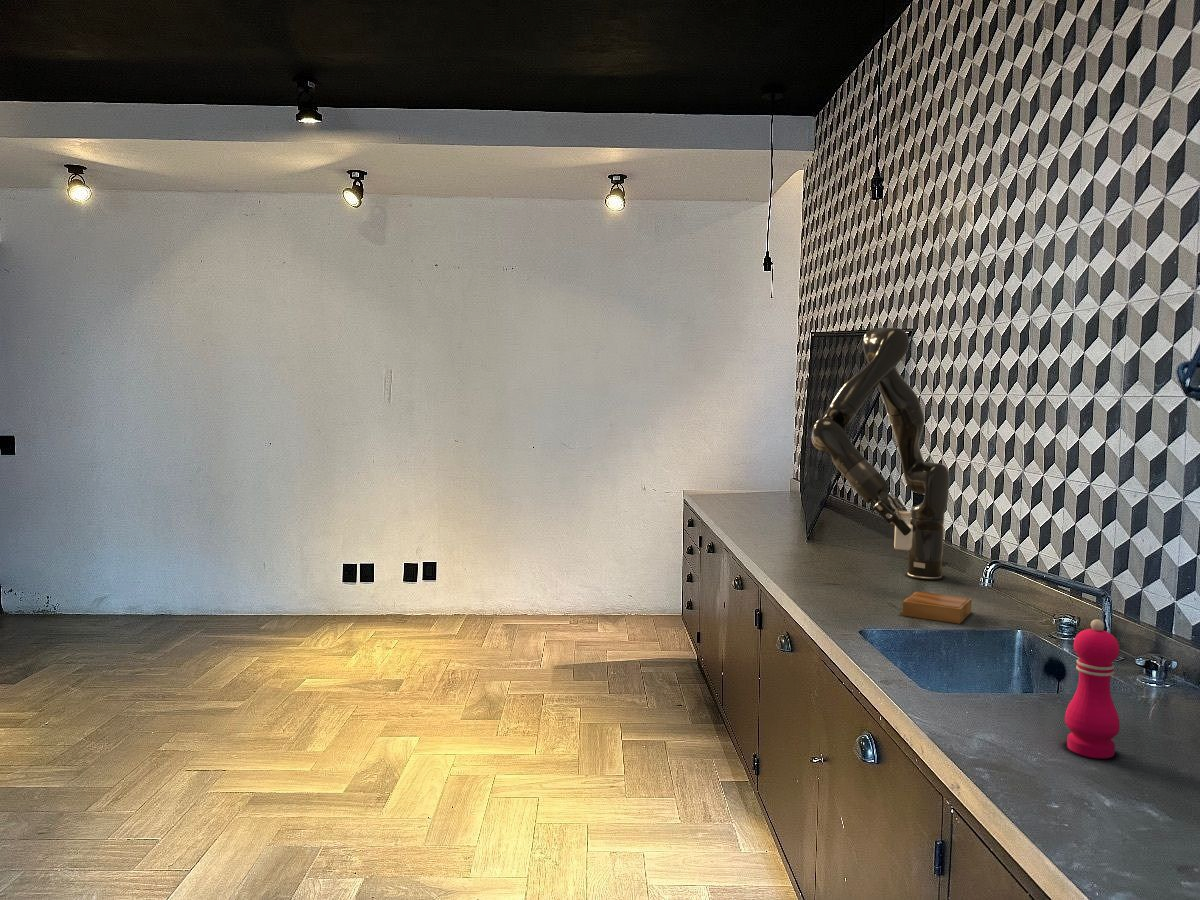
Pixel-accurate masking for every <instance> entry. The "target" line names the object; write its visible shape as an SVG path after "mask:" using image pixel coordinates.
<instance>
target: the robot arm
mask: <svg viewBox="0 0 1200 900" xmlns="http://www.w3.org/2000/svg"><path fill="white" fill-rule="evenodd" d="M909 346H910V339H909V336H908V334H907V332H906V331H905V330H904V329H902V328H900V327H874V328H870V329H869V330H867V331H866V333H865V334H864V336H863V339H862V349H863V353H864V355H865V358H866V360H867V363H868V364H867V365H866V366H865V367H864V368H862V369H861V370H860V371H859V372H858V373H857V374H855V375H854V376H853V377H851V378H850V379H849V380H848V381H846V382H845V383H844V384H843V385H842V387H841V388H840V389H839V391H837V393H836V395H835V396H834V398H833V399H832V401H831V402H830V404H829V406H828V409H827V412H826V413H825V415H824V416H823V417H822V418H819V419H818V420H817V421H816V422H815V423H814V425H813V427H812V431H811V436H810V437H811V443H812V445H813V446H814V448H815V449H817V450H818V451H822V452H828V453H829V455H830V457H831V459H832V462H833V465H834V466H835V467H836V469H837V470H838V471H839V472H840V473H841V475H843V476H844V478H845V479H846V481H847V482H848V484H849V485H850V486H851V487H852V489H853V490H854V491H855V492H856V493H857V494H858V496H860V497H861V499H862V500H863V502H865V503H866V504H871V503H874V505H873V506H872V508H873V510H875V511H876V513H877V514H878V515H879V516H881V517H882V518H883V519H884V520H885V521H886V522H887V523H888V524H891V525H893V526H894V527H895V526H896V527H897V528H898V529H899V530H900V531H901V532H902V534H903V535H905V536H906V535H908V534H909V533H910V532H911V529H910V527H909V526H908V525H907V524H906V523H905V522H904V521H903V519H901V517H900V515H899V514H898V512H899V511H907V512H911V521H910V524H911V525H913V534H912V547H911V549H910V550H908V559H907V575H906V576H908V577H909V578H913V579H918V580H926V581H927V580H928V581H935V580H941V579H942V578H943V575H942V574H943V553H944V552H943V551H944V533H945V530H944V529H945V513H946V511H947V508H948V503H949V502H948V501H949V492H950V473H949V470H948V467H947V466H946V465H944V464H943V463H939V462H930V461H929V462H928V461H924V458H923V456H922V452H921V448H920V441H921V436H922V434H923V431H924V427H925V414H924V411H923V408H922V405H921V402H920V399H919V397H918V395H917V393H916V392H915V390H913V388H912V387H911V386H910V385H909V384H908V383H907V381H906V380H905V379H904V378H903V377H902V375H901V374H900V373H899V371H898V369H897V367H896V366H897V365H898V364H899V363H900V362H901V361H902V359H903V358H904V357H905V356H906V355H907V353H908V350H909ZM877 386H878V389H879V392H880V395H881V397H882V401H883V404H884V407H885V411H886V414H887V418H888V421H889V424H890V427H891V429H892V432H893V436H894V438H895V442H896V446H897V449H898V452H899V457H900V461H901V466H902V472H903V477H904V481H905V484H906V486H907V488H908V489H909V490H910V491H911V492H913V493H916V494H921V495H924V497H923V501H922V502H921V503H920V504H917V505H914V506H912V507H911V508H910V511H909V510H907V508H906V507H905V505H904V504H903V503H902V501H901V500H900V498H898V496H893V495H891V494H889V492H887V490H889V488H890V483H889V482H888V481H887V480H886V479H885V478H884V477H883V475H882V474H881V473H880V472H879V471H878V470H877V469H876V468H875V466H874V465H873V464H872V463H870V462H869V461H868V460H867V459H866V457H864V456H863V455H862V453H860V451H859V450H858V449H857V448H856V447H855V446H854V444H853V443H852V441H851V439H850V438H849V436H848V434H847V433H846V432H845V431H846V429H847V427H848V425H849V424H850V422H851V421H852V419H853V418H854V417H855V416H856V414H857V413H858V411H859V410H860V408H862V406H863V404H864V402H865V401H866V400H867V398H868V397H869V396H870V394H871V393H872V392H873V391H874V390H875V389H876V387H877Z"/></svg>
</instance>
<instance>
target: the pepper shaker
mask: <svg viewBox="0 0 1200 900" xmlns="http://www.w3.org/2000/svg"><path fill="white" fill-rule="evenodd" d="M907 511H908V510H907ZM907 511H899V512H898V514H899V515H900V517H901V519H903V521H904V522H905V523H906V524H907V525H908V526H909V527H910V529H911V532H910V533H909V534H908V535H906V536H905V535H903V534H902V532H901V531H900V530H899V529H898V528H897V527H896V526H895V525H894V540H893V546H894V550H899V551H909V550H910V549H911V547H912V534H913V525H911V524H910V521H911V512H910V511H908V512H907Z"/></svg>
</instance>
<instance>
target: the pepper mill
mask: <svg viewBox="0 0 1200 900" xmlns="http://www.w3.org/2000/svg"><path fill="white" fill-rule="evenodd" d="M1104 629H1105V623H1104V622H1103V621H1102V620H1101V619H1098V618H1096V619H1093V620H1091V622H1090V628H1087V629H1083V630H1081V631H1080V632H1078V633H1077V634H1076V636H1075V638H1074V640H1073V650H1074V653H1075V654H1076V656H1078V659H1076V666H1075V669H1076V670H1077V671H1078V683H1077V687H1076V690H1075V693H1074V695H1073V697H1072V698H1071V700H1070V702H1069V703H1068V705H1067V707H1066V710H1065V716H1064V722H1065V725H1066V727H1067V728H1068V729H1069V730H1070V733H1068V734H1067V738H1066V739H1067V740H1066V741H1067V742H1066V747H1067V748H1068V750H1069V751H1071V752H1072V753H1074V754H1077V755H1079V756H1083V757H1086V758H1090V759H1096V760H1097V759H1099V760H1100V759H1102V760H1103V759H1110V758H1113V757H1114V756H1115V753H1116V750H1115V749H1116V743H1115V741H1114V740H1113V738H1115V737H1116V736H1117V735H1118V734H1119V732H1120V729H1121V728H1120V717H1119V713H1118V710H1117V709H1116V706H1115V703H1114V700H1113V698H1112V693H1111V677H1112V676H1113V675H1115V671H1114V670H1115V667H1116V665H1115V664H1114V663H1113V662H1115V660H1117V659H1118V658H1119V655H1120V644H1119V642H1118V640H1117V637H1115V635H1113V634H1112V633H1110V632H1109V631H1106V630H1104Z"/></svg>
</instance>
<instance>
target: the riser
mask: <svg viewBox="0 0 1200 900" xmlns="http://www.w3.org/2000/svg"><path fill="white" fill-rule="evenodd" d="M971 613H972V598H971V597H964V596H956V595H949V594H943V593H942V594H941V593H933V592H925V591H915V592H914V593H912V594H911V595H910V596H908V597H907V598H905V599H904V600H903V601H902V616H904V617H910V618H916V619H917V618H918V619H924V620H931V621H937V622H944V623H950V624H958V625H960V624H962V622H963V621H964V620H965V619H966V618H968V616H969V615H970V614H971Z"/></svg>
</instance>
